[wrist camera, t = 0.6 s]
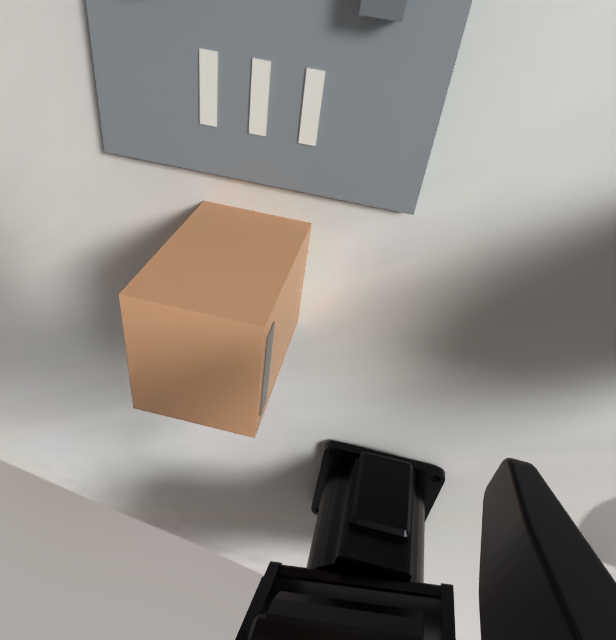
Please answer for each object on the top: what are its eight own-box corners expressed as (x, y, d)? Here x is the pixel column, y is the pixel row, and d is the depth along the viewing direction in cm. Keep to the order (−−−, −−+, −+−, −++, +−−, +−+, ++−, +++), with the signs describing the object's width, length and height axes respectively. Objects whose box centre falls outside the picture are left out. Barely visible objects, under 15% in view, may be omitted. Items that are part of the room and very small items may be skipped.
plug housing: (298, 321, 23) (255, 438, 18) (203, 299, 24) (132, 407, 18) (312, 223, 20) (266, 327, 15) (202, 200, 21) (117, 293, 15)
